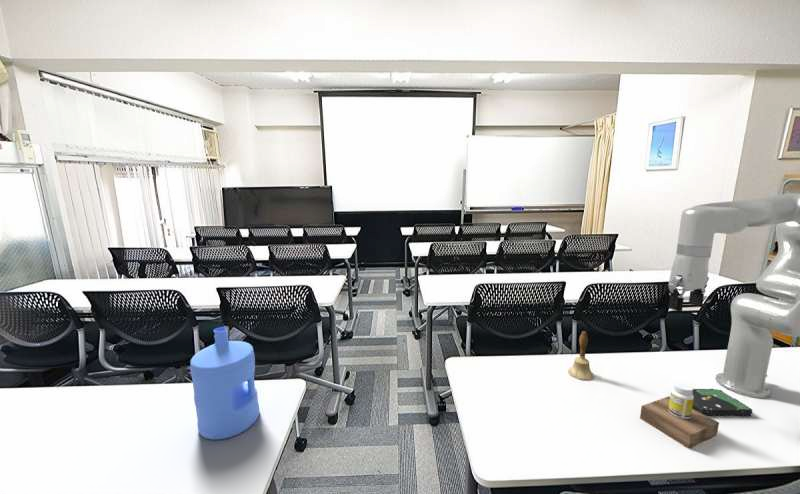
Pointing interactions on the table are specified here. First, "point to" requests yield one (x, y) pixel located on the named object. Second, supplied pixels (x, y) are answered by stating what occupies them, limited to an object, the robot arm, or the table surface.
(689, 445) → the walnut base block
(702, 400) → the disk drive
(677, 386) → the supplement bottle
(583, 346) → the hand bell
